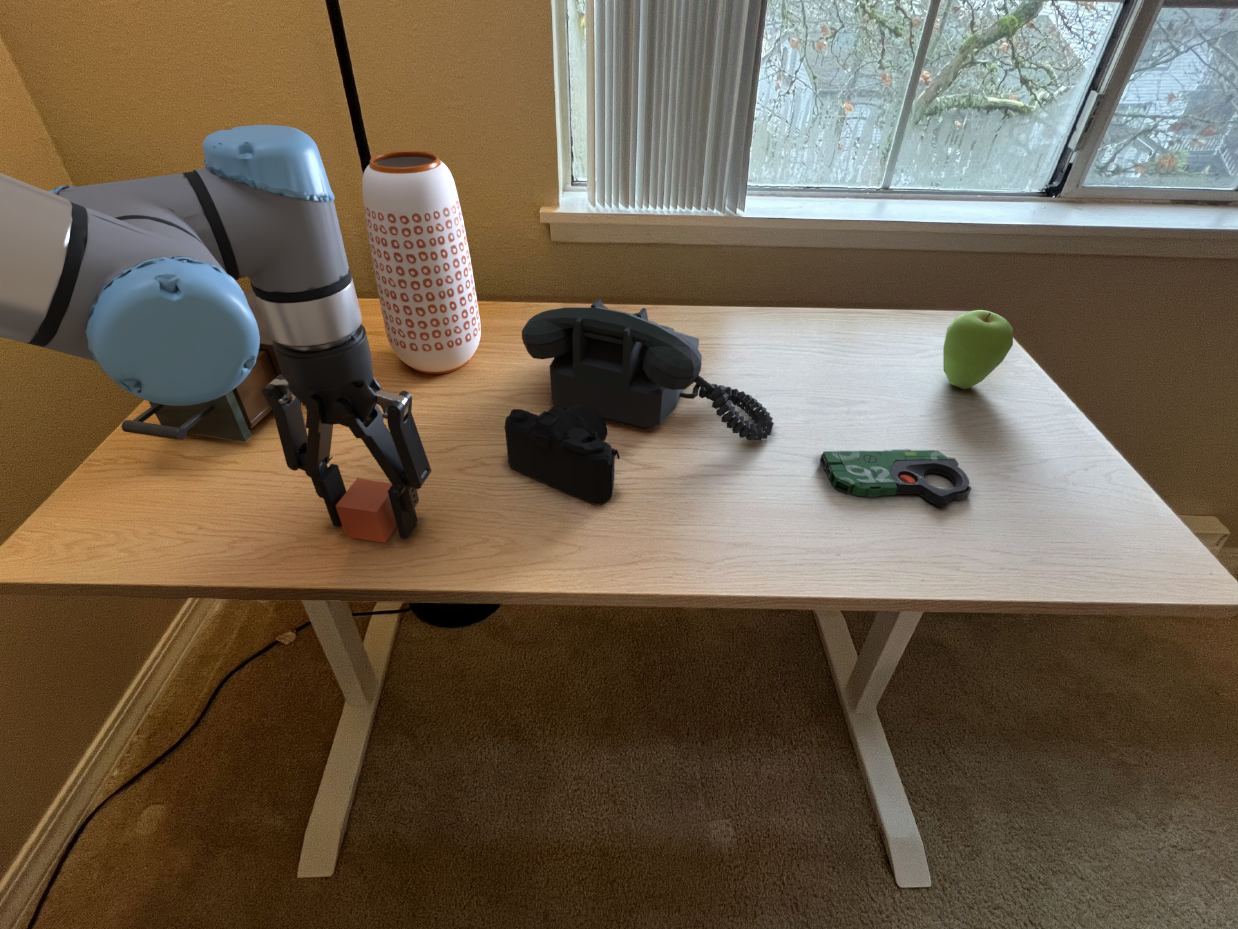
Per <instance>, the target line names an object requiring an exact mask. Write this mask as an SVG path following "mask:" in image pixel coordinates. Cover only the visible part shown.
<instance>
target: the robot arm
mask: <svg viewBox="0 0 1238 929" xmlns="http://www.w3.org/2000/svg"><path fill="white" fill-rule="evenodd" d="M201 147H202V153H203V156H204V159H203V164H204V167H201V168H200V167H199V168H196V169H194V170H192V171H186V172H185V171H184V172H180V173H174V174H173V173H171V174H164V175H156V176H150V177H149V176H148V177H141V178H133V179H126V180H119V181H117V180H116V181H111V182H102V183H95V184H87V185H79V186H73V185H72V186H70V185H68V184H67V185H66V184H65V185H60V186H56V187H55V188H54V189H51V190H45V189H43V188H40V187H38V186H35V185H33V184H30V183H27V182H24V181H22V180H20V179H18V178H15V177H12V176H9V175H7V174H4V173H2V172H0V338H4V339H7V340H11V341H16V342H20V343H24V344H28V345H32V346H35V347H40V348H44V349H48V350H52V351H54V352H55V351H56V352H58V353H63V354H67V355H71V356H73V357H74V356H75V357H78V358H81V359H86V360H89V361H94V362H95V363H97V364H98V365H99V367H100V369H101V370H102V372H103V373H104V374H106V375H107V376H108V378H110V379H111V380H112V381H113V382H114V383H115V384H117V385H118V386H119V387H120V388H122V389H123V390H125V391H126V392H128V393H130V394H132V395H134V396H135V397H137V398H140V399H142V400H144V401H146V402H149V401H150V402H153V403H158V404H163V405H171V406H187V405H195V404H200V403H204V402H208V401H211V400H214V399H217V398H219V397H221V396H223V395H225V394H227V393H229V392H230V391H232V390H233V389H235V388H236V387H237V386H238V385H240V384H241V383H242V381H243V380H244V379H245V378H246V377H247V376H248V374H249V373H250V372H251V369H252V367H253V366H254V365H255V364H256V358H257V356H258V351H259V344H260V336H259V329H258V325H257V322H256V319H255V317H254V315H253V313H252V311H251V309H250V307H249V305H248V302H247V299H246V297H245V294H244V293H245V292H244V291H243V289H242V287H241V286H240V285H239V283H238V282H237V280H238V281H239V280H240V279H243V278H248V280H249V283H250V287H251V288H252V290H253V292H254V295H255V298H256V301H257V304H258V307H259V310H260V313H261V316H262V319H263V322H264V325H265V328H266V331H267V333H268V335H269V338H271V339H272V340H273V342H272V346H273V349H274V352H275V355H276V358H277V360H278V363H279V366H280V369H281V372H282V375H279V376H277V377H276V378H275V379H274V380H273V381H272V382H270V383H269V384H268V385H267V386H266V387H265V388H263V390H262V393H263V395H264V397H265V398H266V400H267V401H268V403H269V405H270V406H271V408H272V410H271V411H272V413H273V417H274V419H275V420H274V421H275V425H276V428H277V432H278V436H279V441H280V444H281V448H282V451H283V455H284V459H285V463H286V467H288V469H290V470H291V471H295V472H296V471H298V470H302V471H303V472H304V473H305V475H306V476H307V477H309V478H310V479H311V481H312V484H313V487H314V490H315V493H316V495H317V496H318V497H319V498H320V499H323V501H324V504H325V507H326V510H327V513H328V515H329V518H330V521H331V524H332V527H336V528H341V526H342V523H341V520H340V517H339V515H338V512H337V509H336V505H337V503H338V502H339V501H340V499H341V498H342V497H343V496H344V494H345V493H346V492H347V488H346V486H345V482H344V479H343V477H342V473H341V471H340V470H341V469H340V467H339V464H336V463H330V462H331V461H332V459H333V458H334V456H331V448H332V439H333V431H334V425H341V426H343V427H346V428H348V429H349V430H350V432H351V433H352V435H353V436H354V437H355V438H356V439H360V440H361V442H362V443H363V444H364V446H366V448H367V450H368V451H369V452H370V454H371V456H372V457H373V459H374V460H375V461H376V463H377V465H378V466H379V467H380V469H381V471H382V472H383V473H384V475H385V476H386V478H387V480H388V481H389V483H391V484H392V486H391V487H390V489H389V490H388V495H389V498H390V502H391V506H392V509H393V513H394V517H395V521H396V524H397V526H396V528H397V530H398V536H399V538H402V539H408V537H409V536H410V534H411V532H412V531H413V530H414V527H415V526H416V524H417V523H418V522H419V521H418V516H417V512H416V507H417V505H418V504H419V502H420V498H419V493H418V490H420V489H421V488H422V486H423V485H424V484H425V482H426V480H427V479H428V477H429V476H430V474H431V473H432V468H431V466H430V462H429V459H428V456H427V453H426V451H425V448H424V446H423V445H424V444H423V442H422V439H421V436H420V433H419V430H418V427H417V425H416V422H415V418H414V416H413V413H412V412H413V411H412V410H413V409H412V408H413V396H412V394H411V392H409V391H407V390H401V391H400V392H399V393H398V394H396V393H392V392H390V391H386V390H383V388H382V386H381V384H380V383H379V382H378V381H377V379H376V378H375V376H374V360H373V355H372V351H371V350H372V349H371V346H370V342H369V338H368V335H367V331H366V328H365V326H364V325H363V324H362V323H363V315H362V313H361V312H362V311H361V307H360V304H359V300H358V296H357V292H356V288H355V287H356V286H355V284H354V280H353V276H352V273H351V269H350V267H349V262H348V258H347V252H346V249H345V244H344V240H343V236H342V231H341V227H340V226H341V225H340V222H339V217H338V213H337V209H336V205H335V200H336V198H335V194H334V192H333V191H332V188H331V184H330V182H329V178H328V175H327V173H326V169H325V166H324V162H323V159H322V156H321V153H320V151H319V148H318V146H317V143H316V142H315V141H314V139H313V138H312V137H311V136H309V134H307V133H306V132H304V131H302V129H299V128H296V127H292V126H288V125H276V124H257V125H256V124H255V125H254V124H253V125H251V124H250V125H242V126H234V127H232V128H230V129H221V130H217V131H214V132H212V133H210V134H208V135H207V136H206V137H205V138H204V139H203V141H202V146H201ZM300 402H301V403H300ZM301 404H302V405H303V406H304V407H305V409H306V418H304V413H303V408H302V405H301ZM379 406H380V407H379ZM380 408H381V409H382V411H381V409H380ZM384 419H385V420H386V421H387V422H386V423H387V425H386V423H385V421H384ZM328 464H329V465H328Z"/></svg>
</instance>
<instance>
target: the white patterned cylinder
mask: <svg viewBox="0 0 1238 929" xmlns="http://www.w3.org/2000/svg"><path fill="white" fill-rule="evenodd" d="M361 181H362V182H361V185H362V187H361V188H362V201H363V208H364V214H365V215H364V217H365V224H366V232H367V238H368V243H369V249H370V255H371V261H372V267H373V273H374V280H375V284H376V289H377V294H378V299H379V305H380V308H381V309H380V310H381V314H382V318H383V319H382V320H383V324H384V329H385V335H386V338H387V342H388V343H389V345H390V347H391V349H392V351H393V352H394V354H395V355H396V356H397V357H398V358H399V359H400V360H401V361H402V362H403V363H404V364H406V365H407V366H409V367H411V368H412V369H413V370H415V371H416V372H418V373H421V374H427V375H443V374H449V373H452V372H455V371H458V370H459V369H461V368H463V367H464V366H465V365H466V364H467V363H469V360H470V359H471V358H472V357H473V356H474V354H475V353H476V351H477V349H478V347H479V345H480V341H481V334H482V327H481V326H482V325H481V317H480V310H479V304H478V296H477V291H476V285H475V278H474V272H473V266H472V260H471V254H470V249H469V248H470V247H469V243H468V238H467V232H466V228H465V223H464V222H465V221H464V217H463V212H462V208H461V203H460V199H459V195H458V194H459V193H458V189H457V186H456V183H455V179H454V177H453V174H452V172H451V170H450V169H449V167H448V166H447V165H446V163H444V162H443V161H442V160H440V158H439V156H438V155H437V154H435V153H432V152H429V151H425V150H424V151H423V150H394V151H387V152H383V153H379V154H377V155H374V156H373V157H371V158H370V160H369V164H368V165H367V166H366V168H365V169H364V171H363V174H362V180H361Z"/></svg>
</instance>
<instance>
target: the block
mask: <svg viewBox="0 0 1238 929" xmlns="http://www.w3.org/2000/svg"><path fill="white" fill-rule="evenodd" d="M391 486H392V484H391V482H386V481H379V480H373V479H366V478H359V477H356V479H355V481H353V483H352V484H351V486H350V487H349V488H348V489H347V490H346V493H345V494H344V496H343V497H342V498H341V499H340V501H339V502H338V503H337V505H336V509H337V512H338V515H339V517H340V520H341V523H342V525H341V526H342V529H343V532H344V535H345V537H346V538H352V539H357V540H364V541H369V542H375V543H382V544H386V543H387V542H388V540H389V539H390V537H391V535H392V534H393V533H394V531H395V530H396V528H397V524H396V521H395V517H394V513H393V509H392V506H391V502H390V498H389V495H388V490H389V489H390V487H391Z"/></svg>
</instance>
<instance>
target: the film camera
mask: <svg viewBox="0 0 1238 929" xmlns="http://www.w3.org/2000/svg"><path fill="white" fill-rule="evenodd" d="M503 429H504V433H505V443H506V451H507V463H508V465H509V467H510V468H511V469H513V470H515V471H516V472H519V473H522V474H523V475H525V476H527V477H529V478H532V479H534V480H536V481H538V482H541V483H542V484H545V485H547V486H549V487H551V488H553V489H556V490H558V491H561V492H562V493H565V494H567V495H569V496H571V497H574V498H576V499H580V500H582V501H584V502H587V503H590V504H592V505H603V504H606V503H607V502H609V501H610V500H611V499H612V497H613V490H614V485H615V467H616V466H615V464H616V458H617V459H618V460H620V459H621V458H620V457H621V456H620V454H619V450H618V449H616V448H612V445H611V444H610V443H608V442H605V441H606V440H607V437H608V425H607V421H605V420H604V418H603V417H602V415H601V414H600V413H599V412H598V411H597V410H596V409H595V408H593V407H591V406H589V405H586V404H576V405H575V406H573V407H570V408H568V409H567V410H564V409H562V408H561V407H559V406H557V405H553V406H551V407H550V408H549V409H548V410H547V411H546V410H544V411H542V412H541V413H540V414H539V415H538V414H535V413H532V412H530V411H528V410H524V409H523V408H514V409H512V410H511V411H510V413H509V415H507V416H506V417H505V421H504V426H503Z"/></svg>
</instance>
